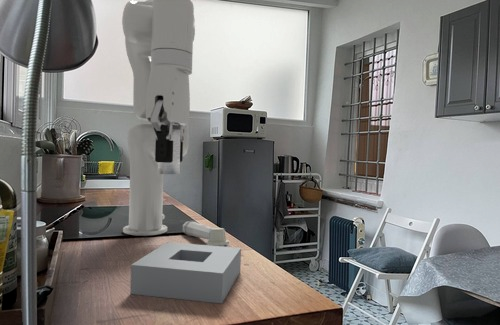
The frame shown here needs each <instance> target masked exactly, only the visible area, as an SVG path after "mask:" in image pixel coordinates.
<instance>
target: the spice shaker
mask: <svg viewBox="0 0 500 325" xmlns="http://www.w3.org/2000/svg"><path fill="white" fill-rule="evenodd" d="M166 130H167V127H166ZM180 138H181V126H179V125H173V128H172V137H171V140H172V141H173V161H172V162H171V163H166V162H157V163H158V173H159V174H163V175H180V174H181V173H180V171H181V170H180V168H181V162H180Z"/></svg>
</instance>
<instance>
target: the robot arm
mask: <svg viewBox="0 0 500 325" xmlns="http://www.w3.org/2000/svg"><path fill="white" fill-rule="evenodd" d="M194 9H195V6H194V3H193V0H145V1H140V0H139V1H138V0H136V1H135V0H130V1H128V2H127V3H125V5H124V7H123V12H122V18H121V19H122V20H121V22H122V23H121V25H122V31H123V35H124V41H125V42H124V43H125V51H126V55H127V59H128V62H129V64H130V68H131V71H132V77H133V86H132V87H133V89H132V90H133V91H132V92H133V94H132V95H133V96H132V97H133V100H132V102H133V113H134V117H136V118H137V119H138V120H141V121H146V122H147V121H148V122H149V124H147V123H141V124H135V125H134V126H132V127H131V128H130V129H129V130H128V133H127V144H128V153H129V154H128V155H129V197H128V199H129V203H128V204H129V206H128V210H129V211H128V225H125V226H123V227H122V232H123V233H124V234H125V235H131V236H143V237H147V236H148V237H149V236H157V235H162V234H165V233H166V232H168V226H167V225H165V224H163V220H164V219H165V218H166V215H165V214H164V213H163V211H164V210H163V209H164V208H163V206H164V205H163V204H164V202H163V201H164V174H159V173H158V162H166V163H171V162H172V161H173V141H172V140H171V137H172V128H173V125H179V126H181V138H180V163H182V162H183V158H184V157H185V156H186V155H187V153H188V150H189V146H190V145H189V140H190V139H189V138H190V137H189V135H190V134H189V123H190V113H191V112H190V108H191V107H190V106H191V105H190V104H191V103H190V100H191V97H190V96H191V94H190V76H189V75H192V74H193V50H194V48H193V47H194V44H193V43H194V40H195V35H196V28H195V27H196V25H195V11H194ZM166 127H167V130H166Z"/></svg>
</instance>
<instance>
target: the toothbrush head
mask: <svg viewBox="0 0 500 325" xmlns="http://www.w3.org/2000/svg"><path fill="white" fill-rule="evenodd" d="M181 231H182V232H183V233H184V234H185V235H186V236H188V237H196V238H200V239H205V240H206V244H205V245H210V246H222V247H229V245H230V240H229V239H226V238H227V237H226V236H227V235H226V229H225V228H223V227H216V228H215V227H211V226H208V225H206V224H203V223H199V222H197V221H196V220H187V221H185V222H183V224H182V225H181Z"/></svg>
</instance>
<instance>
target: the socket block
mask: <svg viewBox="0 0 500 325" xmlns="http://www.w3.org/2000/svg"><path fill="white" fill-rule="evenodd" d="M241 262H242V248H241V247H235V246H228V247H222V246H210V245H206V244H197V243H196V244H195V243H185V242H184V243H182V242H171V241H168V242H164V243H163V244H162V245H160V246H159V247H157V248H156V249H154V250H153V251H150V252H149V253H148V254H146V255H145V256H144V255H143V257H141V258H140V259H138V260H137V261H135V262H133V263H132V264H130V295H138V296H147V297H156V298H165V299H166V298H167V299H175V300H186V301H193V302H194V301H195V302H204V303H212V304H214V303H215V304H223V303H224V301H225V299H226V297H227V295H228V294H229V292H230V291H231V289H232V287H233V285H234V284H235V281H236V280H237V278H238V277H239V274H240V273H241V264H242V263H241Z"/></svg>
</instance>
